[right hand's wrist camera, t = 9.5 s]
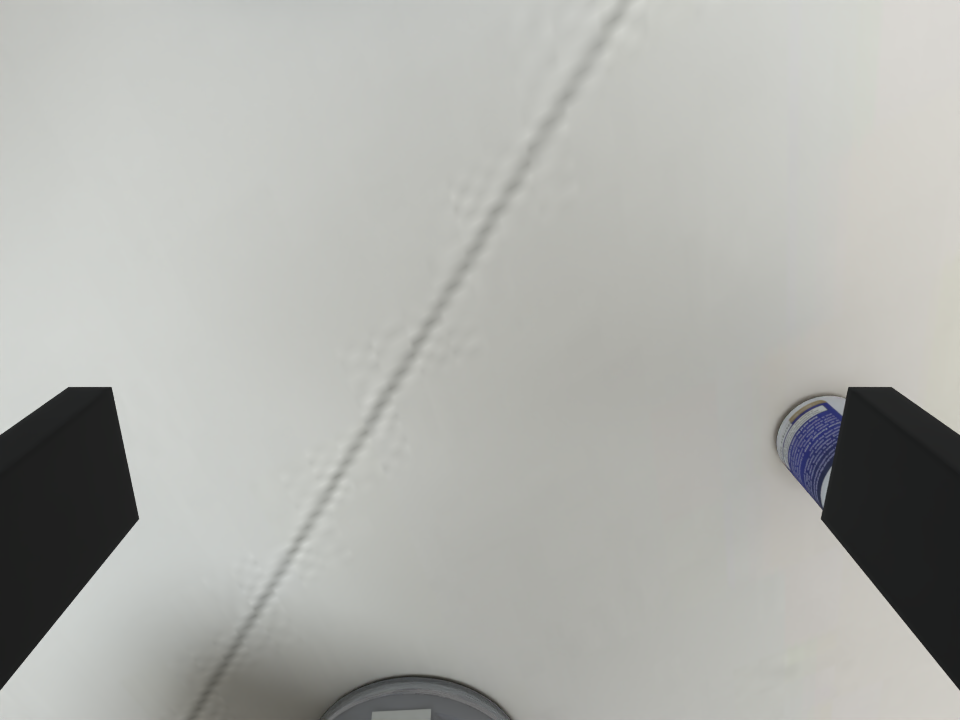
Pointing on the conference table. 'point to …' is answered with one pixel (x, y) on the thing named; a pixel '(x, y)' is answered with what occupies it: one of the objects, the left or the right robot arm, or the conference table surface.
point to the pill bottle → (811, 442)
